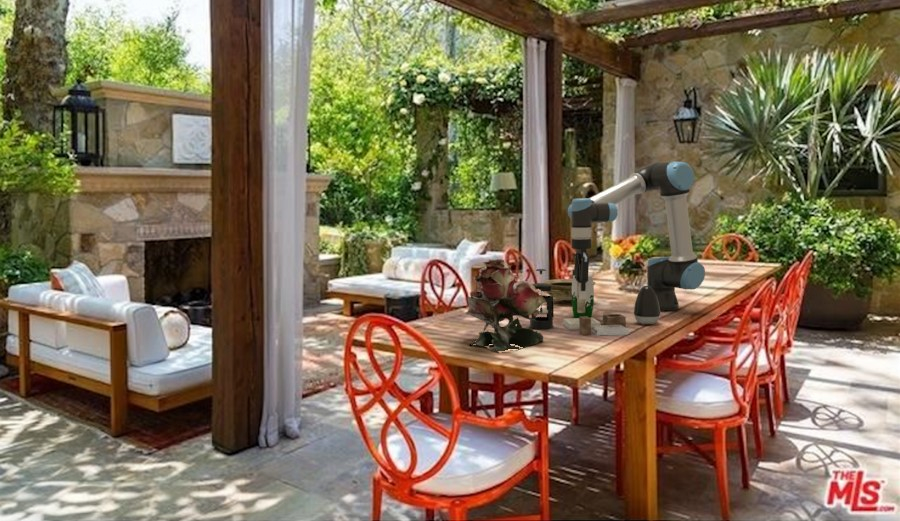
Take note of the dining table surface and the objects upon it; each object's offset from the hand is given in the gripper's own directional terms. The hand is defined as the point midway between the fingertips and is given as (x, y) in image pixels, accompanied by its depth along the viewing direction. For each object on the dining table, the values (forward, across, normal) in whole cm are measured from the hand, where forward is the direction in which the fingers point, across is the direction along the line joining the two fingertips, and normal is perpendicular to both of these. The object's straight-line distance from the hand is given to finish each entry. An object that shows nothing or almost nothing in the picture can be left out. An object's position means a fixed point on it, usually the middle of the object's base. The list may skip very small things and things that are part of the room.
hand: (581, 298), depth 268 cm
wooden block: (+11, -12, +2) cm, 17 cm away
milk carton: (+11, +20, -6) cm, 24 cm away
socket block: (+11, 0, -13) cm, 17 cm away
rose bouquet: (+12, -20, +35) cm, 42 cm away
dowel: (+6, 0, 0) cm, 6 cm away
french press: (+12, +3, +15) cm, 19 cm away
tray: (+11, 0, 0) cm, 11 cm away
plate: (+12, -12, -7) cm, 19 cm away
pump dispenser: (+11, +2, -27) cm, 30 cm away
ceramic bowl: (+11, +57, -10) cm, 59 cm away
